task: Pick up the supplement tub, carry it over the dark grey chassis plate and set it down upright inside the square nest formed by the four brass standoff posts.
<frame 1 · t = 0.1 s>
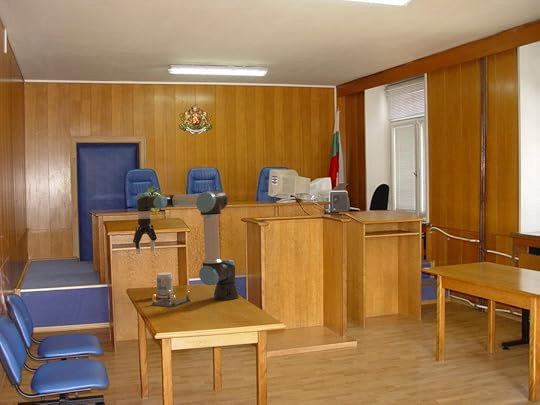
hand: (145, 252, 378), 28 cm above the table, fingers open, 13 cm apart
supplement tub: (165, 297, 377), on the table
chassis: (171, 303, 358), on the table
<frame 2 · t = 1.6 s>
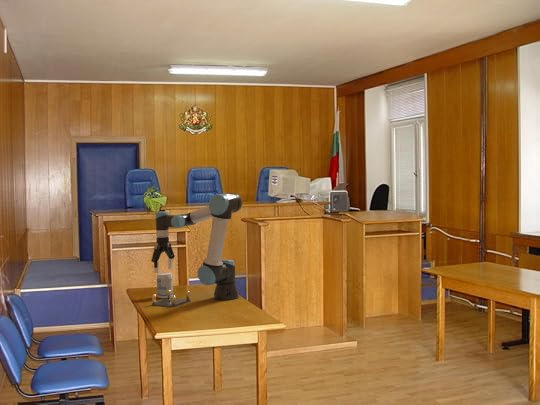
hand: (163, 271, 376), 16 cm above the table, fingers open, 13 cm apart
nothing on the table moved.
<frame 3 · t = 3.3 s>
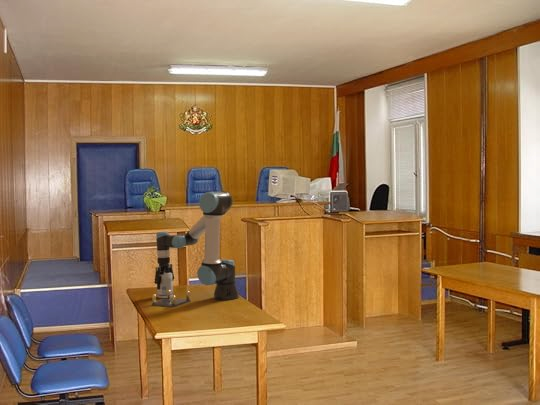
hand: (165, 292, 377), 3 cm above the table, fingers closed on supplement tub, 9 cm apart
supplement tub: (165, 297, 377), on the table, touching gripper
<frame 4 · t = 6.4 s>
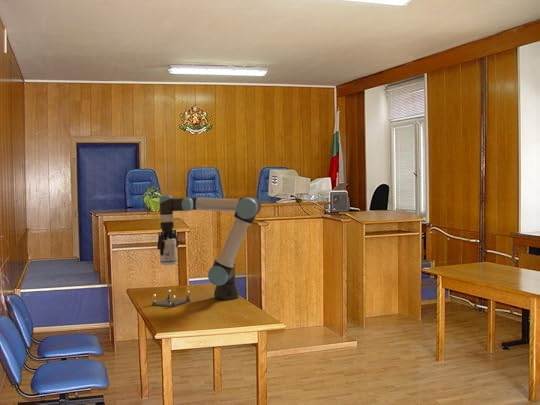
hand: (168, 259, 359), 25 cm above the table, fingers closed on supplement tub, 9 cm apart
supplement tub: (168, 264, 359), point 23 cm above the table, touching gripper
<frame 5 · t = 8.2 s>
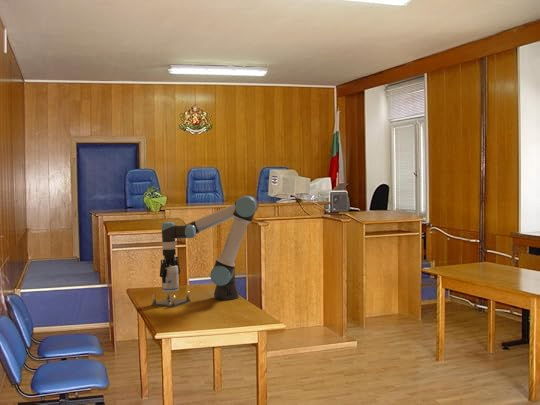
hand: (170, 286, 357), 10 cm above the table, fingers closed on supplement tub, 9 cm apart
supplement tub: (170, 291, 357), point 7 cm above the table, touching gripper
when the fingers open (5 cm above the table, at t = 9.7 s): supplement tub drops 1 cm, resting on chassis.
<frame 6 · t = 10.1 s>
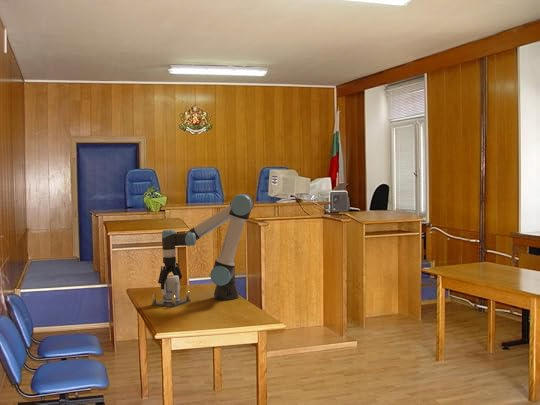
hand: (170, 292, 357), 6 cm above the table, fingers open, 13 cm apart
supplement tub: (171, 301, 358), point 1 cm above the table, touching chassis
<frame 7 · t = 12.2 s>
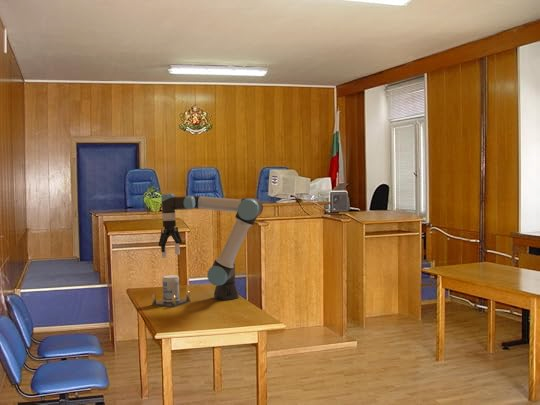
hand: (171, 256, 359), 27 cm above the table, fingers open, 13 cm apart
nothing on the table moved.
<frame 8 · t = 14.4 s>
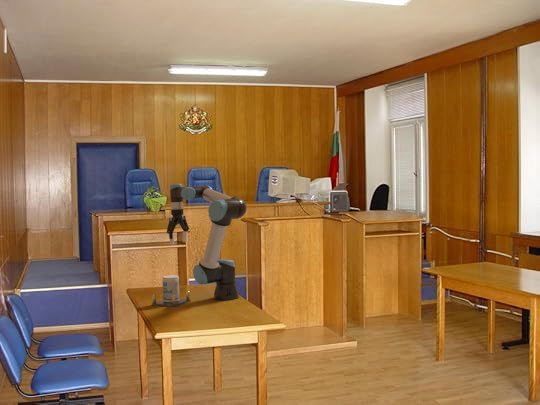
hand: (178, 243, 380), 33 cm above the table, fingers open, 13 cm apart
nothing on the table moved.
at the end: supplement tub 0.2 cm off-centre on the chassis, point 1.0 cm above the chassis's base; supplement tub tilted 0°; the gripper is holding nothing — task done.
